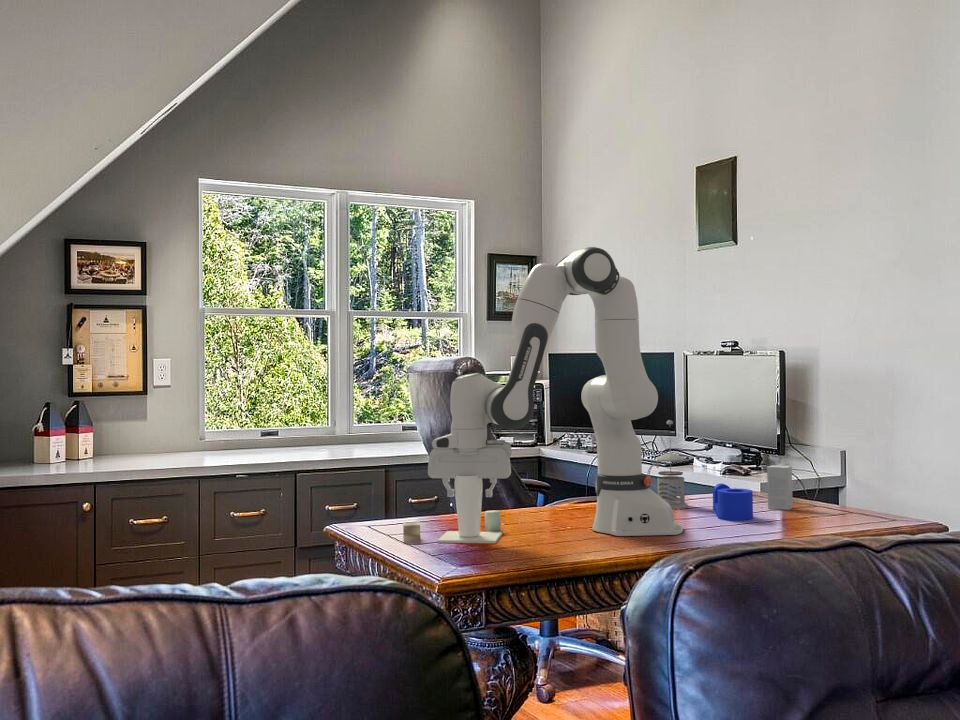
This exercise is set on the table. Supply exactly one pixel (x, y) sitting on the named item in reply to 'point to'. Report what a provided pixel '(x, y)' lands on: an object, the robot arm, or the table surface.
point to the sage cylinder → (493, 521)
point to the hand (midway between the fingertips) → (469, 496)
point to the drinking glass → (468, 504)
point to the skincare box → (779, 487)
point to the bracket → (732, 503)
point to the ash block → (411, 531)
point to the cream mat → (469, 538)
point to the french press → (671, 480)
